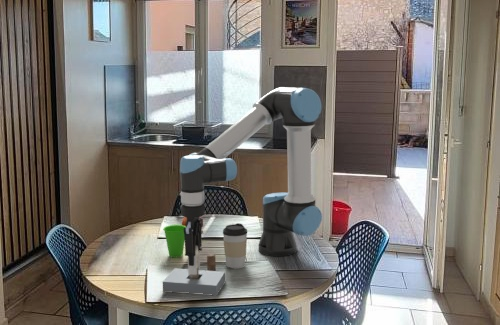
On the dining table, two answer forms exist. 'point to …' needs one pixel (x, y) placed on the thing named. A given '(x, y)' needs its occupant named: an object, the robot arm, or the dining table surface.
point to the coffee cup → (235, 245)
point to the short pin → (211, 262)
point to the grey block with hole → (194, 282)
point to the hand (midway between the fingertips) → (194, 271)
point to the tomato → (186, 220)
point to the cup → (175, 239)
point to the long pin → (197, 265)
